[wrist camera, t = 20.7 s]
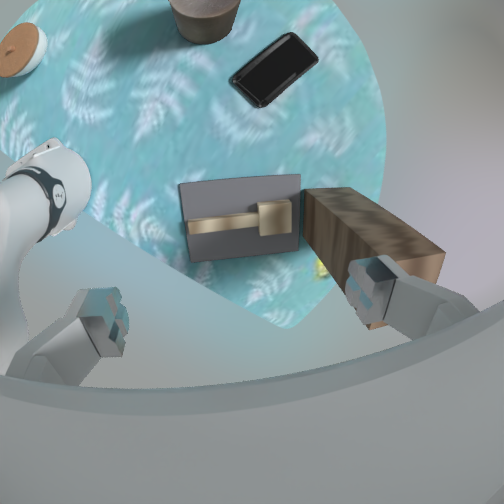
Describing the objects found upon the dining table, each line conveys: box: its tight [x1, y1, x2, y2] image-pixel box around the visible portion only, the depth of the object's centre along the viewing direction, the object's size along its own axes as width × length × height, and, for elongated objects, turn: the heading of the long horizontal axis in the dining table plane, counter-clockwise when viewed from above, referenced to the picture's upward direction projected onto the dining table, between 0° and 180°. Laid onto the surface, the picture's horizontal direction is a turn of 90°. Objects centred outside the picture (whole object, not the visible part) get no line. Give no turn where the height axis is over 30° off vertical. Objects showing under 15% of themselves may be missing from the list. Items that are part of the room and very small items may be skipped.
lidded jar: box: [0, 22, 48, 78], centre depth 24 cm, size 11×11×9 cm
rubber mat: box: [180, 174, 301, 263], centre depth 52 cm, size 22×16×1 cm
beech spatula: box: [188, 199, 292, 236], centre depth 51 cm, size 19×6×2 cm, turn 93°
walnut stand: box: [303, 187, 446, 330], centre depth 42 cm, size 10×10×28 cm
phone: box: [232, 32, 319, 107], centre depth 39 cm, size 8×1×15 cm
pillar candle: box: [168, 0, 241, 44], centre depth 27 cm, size 10×10×15 cm
